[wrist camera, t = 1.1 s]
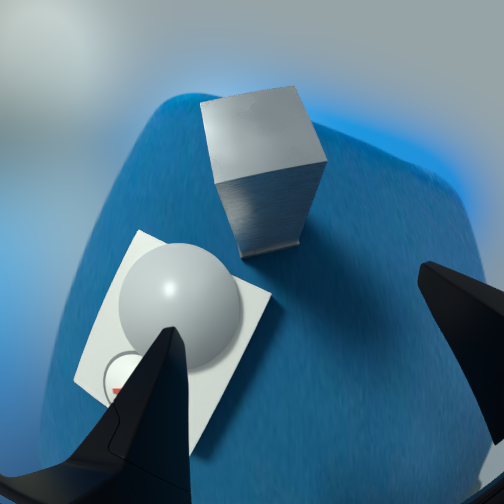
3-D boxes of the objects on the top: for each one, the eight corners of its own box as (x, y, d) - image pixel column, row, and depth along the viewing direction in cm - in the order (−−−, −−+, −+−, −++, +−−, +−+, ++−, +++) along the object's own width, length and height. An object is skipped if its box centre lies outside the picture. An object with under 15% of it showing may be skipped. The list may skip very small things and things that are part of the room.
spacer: (298, 246, 23) (332, 163, 11) (241, 259, 23) (211, 187, 11) (283, 194, 24) (296, 83, 12) (229, 206, 24) (196, 101, 12)
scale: (275, 286, 23) (276, 282, 20) (194, 448, 20) (187, 459, 17) (150, 227, 24) (140, 219, 22) (84, 377, 21) (70, 381, 19)
